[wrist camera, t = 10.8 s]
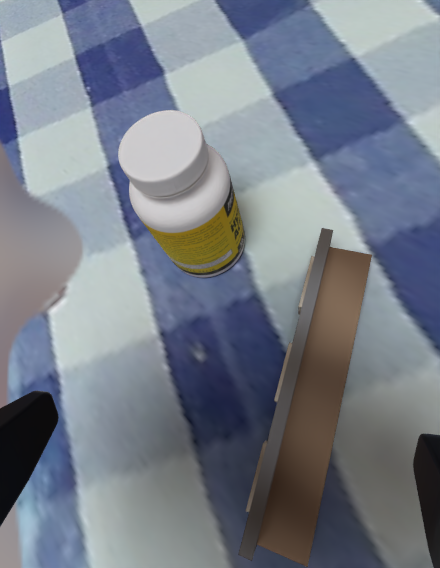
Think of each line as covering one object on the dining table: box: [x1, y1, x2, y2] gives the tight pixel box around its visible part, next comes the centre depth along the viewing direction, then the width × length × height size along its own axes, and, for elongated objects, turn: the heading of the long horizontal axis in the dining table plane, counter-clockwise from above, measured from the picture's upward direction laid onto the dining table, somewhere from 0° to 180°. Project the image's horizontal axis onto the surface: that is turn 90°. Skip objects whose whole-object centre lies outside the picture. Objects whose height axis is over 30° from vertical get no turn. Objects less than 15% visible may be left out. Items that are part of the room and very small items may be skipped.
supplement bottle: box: [118, 110, 245, 278], centre depth 20 cm, size 5×5×10 cm
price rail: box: [238, 228, 372, 567], centre depth 19 cm, size 16×3×4 cm, turn 162°
